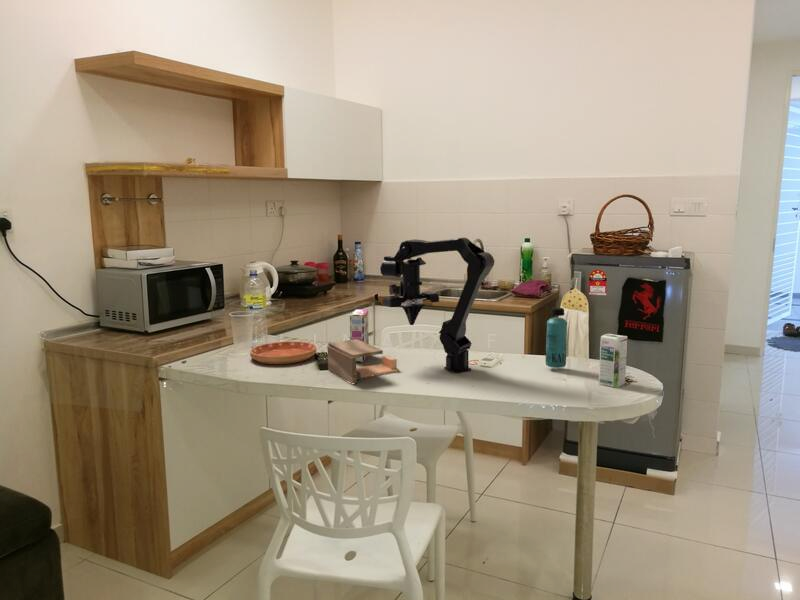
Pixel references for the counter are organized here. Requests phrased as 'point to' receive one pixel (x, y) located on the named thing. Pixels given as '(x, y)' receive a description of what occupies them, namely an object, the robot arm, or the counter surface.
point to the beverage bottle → (556, 340)
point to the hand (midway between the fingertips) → (411, 324)
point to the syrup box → (612, 360)
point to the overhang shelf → (348, 358)
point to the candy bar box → (359, 328)
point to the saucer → (283, 352)
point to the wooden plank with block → (379, 367)
